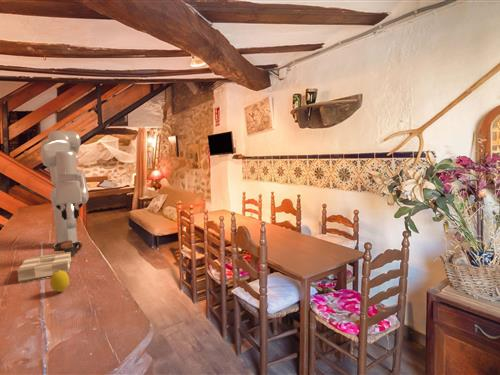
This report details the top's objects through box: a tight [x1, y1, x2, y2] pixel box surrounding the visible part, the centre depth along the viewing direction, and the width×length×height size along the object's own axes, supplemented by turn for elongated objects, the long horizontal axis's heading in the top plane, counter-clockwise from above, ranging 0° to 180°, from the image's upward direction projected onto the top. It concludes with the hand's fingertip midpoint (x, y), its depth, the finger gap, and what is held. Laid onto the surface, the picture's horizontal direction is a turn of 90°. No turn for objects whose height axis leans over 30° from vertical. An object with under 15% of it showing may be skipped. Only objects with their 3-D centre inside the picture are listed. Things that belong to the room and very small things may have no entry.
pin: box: [64, 202, 78, 229], centre depth 135 cm, size 4×4×12 cm
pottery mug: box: [53, 240, 83, 257], centre depth 145 cm, size 12×10×8 cm
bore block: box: [17, 252, 72, 284], centre depth 122 cm, size 16×16×5 cm
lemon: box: [50, 270, 70, 293], centre depth 103 cm, size 6×6×8 cm
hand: (70, 218), depth 136 cm, fingers closed on pin, 4 cm apart
